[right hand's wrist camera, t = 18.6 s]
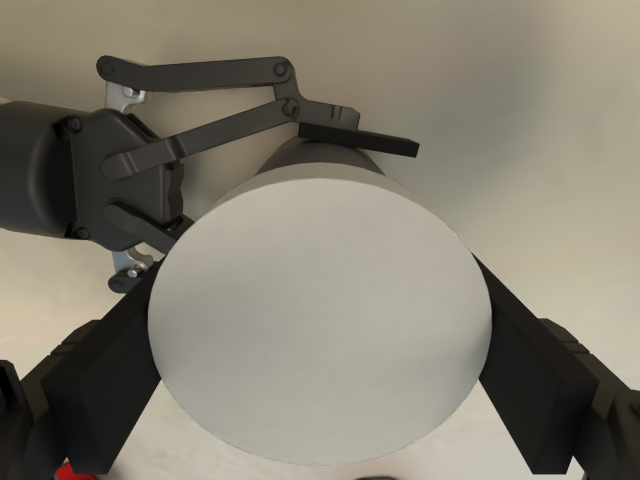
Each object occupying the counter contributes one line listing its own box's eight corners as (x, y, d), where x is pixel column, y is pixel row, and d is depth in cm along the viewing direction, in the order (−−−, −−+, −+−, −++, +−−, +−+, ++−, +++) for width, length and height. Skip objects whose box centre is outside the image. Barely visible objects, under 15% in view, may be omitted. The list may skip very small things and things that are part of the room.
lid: (297, 445, 15) (294, 504, 13) (117, 280, 12) (73, 320, 10) (511, 326, 13) (551, 372, 10) (353, 90, 10) (362, 87, 8)
